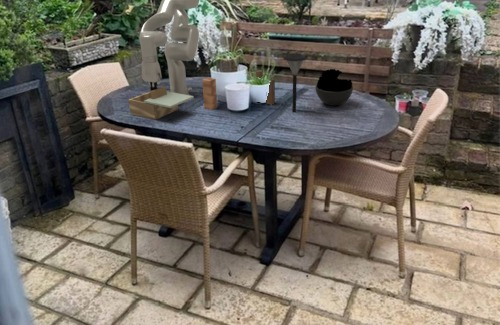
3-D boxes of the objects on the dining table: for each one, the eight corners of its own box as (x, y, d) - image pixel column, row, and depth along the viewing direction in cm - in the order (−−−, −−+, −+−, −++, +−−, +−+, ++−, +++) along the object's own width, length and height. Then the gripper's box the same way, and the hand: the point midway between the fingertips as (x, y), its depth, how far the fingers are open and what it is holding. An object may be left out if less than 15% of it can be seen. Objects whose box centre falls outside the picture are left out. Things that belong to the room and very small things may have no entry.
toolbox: (154, 104, 254) (152, 90, 250) (178, 109, 245) (176, 95, 241) (130, 114, 240) (128, 99, 237) (155, 119, 231) (153, 105, 228)
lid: (168, 93, 244) (167, 84, 242) (193, 98, 235) (192, 88, 233) (144, 102, 231) (142, 93, 229) (170, 108, 222) (169, 98, 220)
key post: (210, 105, 249) (208, 77, 242) (217, 107, 246) (215, 78, 239) (204, 108, 245) (202, 79, 238) (211, 109, 243) (209, 81, 236)
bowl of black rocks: (337, 96, 257) (339, 64, 249) (359, 106, 241) (362, 72, 233) (307, 102, 250) (308, 69, 242) (328, 113, 234) (330, 77, 225)
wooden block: (272, 105, 247) (271, 73, 239) (255, 102, 252) (254, 71, 244) (275, 103, 250) (275, 71, 242) (258, 101, 254) (257, 69, 247)
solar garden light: (310, 112, 234) (312, 55, 221) (291, 117, 229) (292, 58, 216) (296, 106, 244) (297, 51, 231) (278, 111, 238) (278, 54, 225)
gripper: (134, 59, 230) (139, 93, 238) (155, 62, 223) (159, 97, 231) (144, 56, 236) (149, 89, 244) (165, 59, 228) (169, 93, 236)
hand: (154, 93), depth 237 cm, fingers closed
